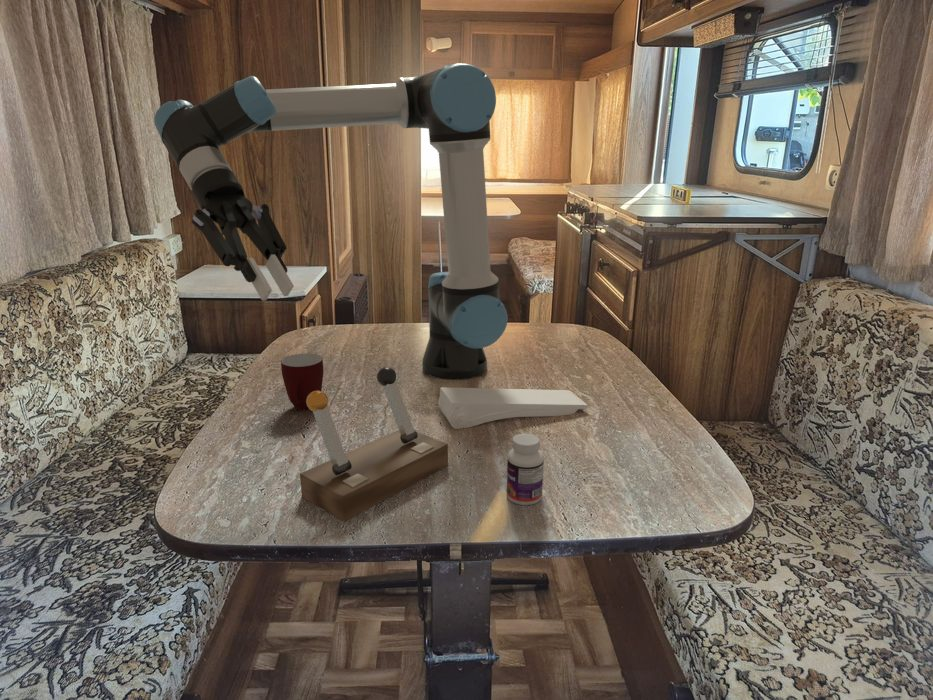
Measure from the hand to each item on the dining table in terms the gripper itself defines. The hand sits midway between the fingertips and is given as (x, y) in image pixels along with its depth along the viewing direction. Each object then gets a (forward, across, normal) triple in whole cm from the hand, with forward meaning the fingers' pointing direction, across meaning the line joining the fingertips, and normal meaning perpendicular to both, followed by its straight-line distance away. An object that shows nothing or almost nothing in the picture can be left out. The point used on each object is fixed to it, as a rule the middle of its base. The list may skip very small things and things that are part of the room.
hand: (278, 293), depth 106 cm
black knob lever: (+29, -10, -3) cm, 31 cm away
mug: (+10, -13, -30) cm, 34 cm away
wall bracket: (+33, -39, -7) cm, 52 cm away
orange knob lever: (+29, +4, -3) cm, 30 cm away
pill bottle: (+48, -14, +8) cm, 50 cm away
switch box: (+33, -3, -7) cm, 34 cm away
